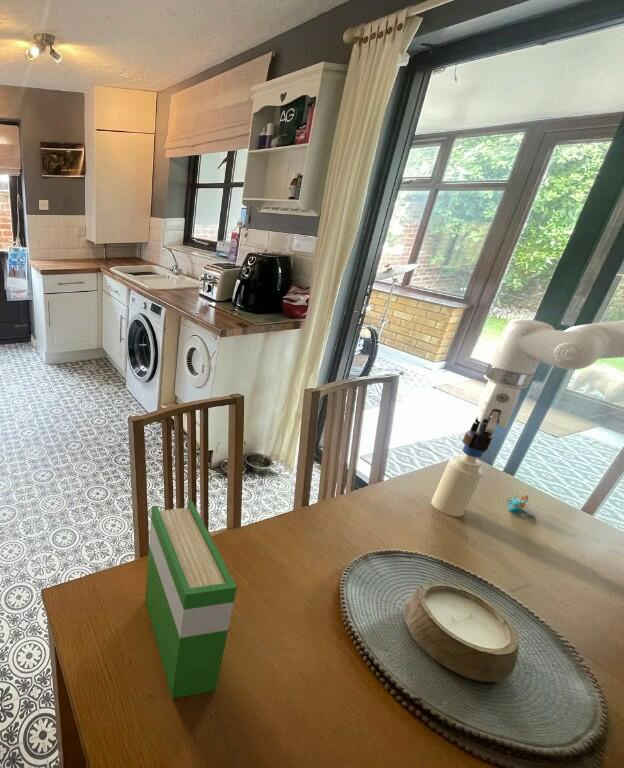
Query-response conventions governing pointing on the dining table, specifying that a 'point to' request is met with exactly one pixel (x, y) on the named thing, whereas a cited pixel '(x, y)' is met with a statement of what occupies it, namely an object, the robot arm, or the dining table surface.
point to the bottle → (458, 483)
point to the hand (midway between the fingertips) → (476, 443)
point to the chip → (468, 438)
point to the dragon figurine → (518, 505)
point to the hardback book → (187, 600)
